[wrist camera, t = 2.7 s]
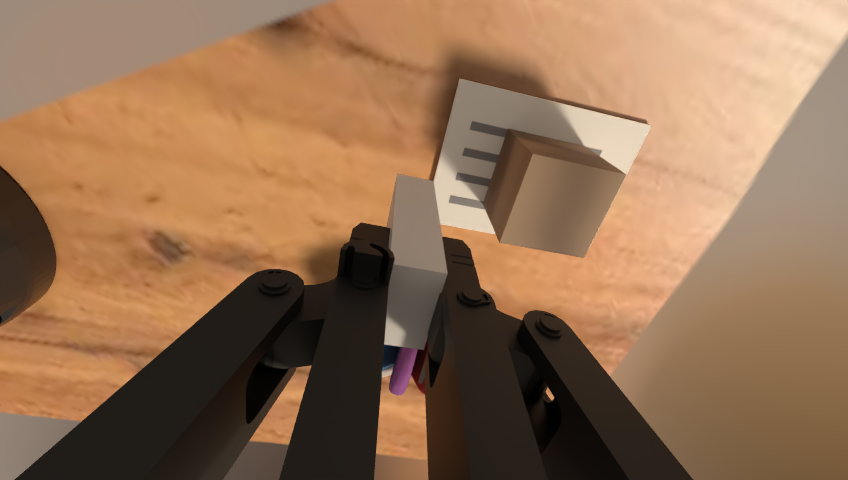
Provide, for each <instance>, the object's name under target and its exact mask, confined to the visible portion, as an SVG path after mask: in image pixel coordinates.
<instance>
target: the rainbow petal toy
mask: <svg viewBox="0 0 848 480" xmlns="http://www.w3.org/2000/svg"><path fill="white" fill-rule="evenodd" d="M427 352H428V338H427V341H426V344H425V347H424V350H420V349H413V348H406V347H399V346H392V345H385V344H384V354H383V366H382V377H386V376H389V375H391V374H392V375H391V379H390V384H389V389H390V392H391V393H393V394H395V395H402V394H403V393H404V392H405V390H406V388H407V385H408V382H409V379H410V376H411V377H412V378H413V379H414V381H415V383H416V385H417V386H418V388H419V390H420V391H421V392H422V393H423V394H425V377H424V379H423V382H422V384H421V383H418V382H419V377H420V374H421V371H422V368H423V365H424V361H425V358H426V355H427Z"/></svg>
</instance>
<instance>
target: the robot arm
mask: <svg viewBox="0 0 848 480" xmlns="http://www.w3.org/2000/svg"><path fill="white" fill-rule="evenodd" d="M55 272H56V253H55V248H54V243H53V240H52V237H51V235H50V232H49V230H48V228H47V226H46V224H45V222H44V220H43V218H42V217H41V215H40V213H39V212H38V210H37V209H36V207H35V206H34V205H33V203H32V202H31V201H30V199H29V198H28V197H27V196H26V194H25V193H24V192H23V191H22V190H21V189H20V187H19V186H18V185H17V184H16V183H15V182H14V181H13V180H12V179H11V178H10V177H9V176H8V175H7V174H6V173H4V172H3V171H2V170H1V169H0V326H2V325H4V324H6V323H8V322H9V321H11V320H13V319H14V318H15V317H17V316H18V315H19V314H21V313H22V312H23V311H25V310H26V309H27V308H29V307H30V306H31V305H33V304H34V303H35V302H37V301H38V300H39V299H40V298H41V297H42V296H44V294H45V293H46V292H47V291H48V289H49V288H50V286H51V284H52V282H53V279H54V276H55ZM427 338H428V352H427V355H426V358H425V361H424V365H423V368H422V371H421V374H420V377H419V382H418V383H421V384H422V382H423V379H424V377H425V399H426V425H427V452H428V478H429V480H693V479H692V478H691V477H690V475H689V474H688V473H687V472H686V470H685V469H684V468H683V467H682V465H681V464H680V463H679V462H678V460H677V459H676V458H675V457H674V456H673V454H672V453H671V452H670V451H669V449H668V448H667V447H666V446H665V444H664V443H663V442H662V441H661V439H660V438H659V437H658V436H657V434H656V433H655V432H654V431H653V429H652V428H651V427H650V426H649V425H648V424H647V422H646V421H645V420H644V418H643V417H642V416H641V415H640V413H639V412H638V411H637V410H636V408H635V407H634V406H633V405H632V403H631V402H630V401H629V400H628V398H627V397H626V396H625V395H624V394H623V392H622V391H621V390H620V389H619V387H618V386H617V385H616V384H615V382H614V381H613V380H612V379H611V377H610V376H609V375H608V374H607V372H606V371H605V370H604V369H603V368H602V366H601V365H600V364H599V363H598V361H597V360H596V359H595V358H594V356H593V355H592V354H591V353H590V351H589V350H588V349H587V348H586V346H585V345H584V344H583V343H582V342H581V340H580V339H579V338H578V337H577V335H576V334H575V333H574V332H573V330H572V329H571V328H570V327H569V326H568V325H567V324H566V323H565V322H564V321H563V320H561V319H560V318H558V317H557V316H555V315H553V314H551V313H548V312H545V311H538V310H534V311H529V312H528V313H527V314H525V315H524V318H523V320H520V319H517V318H514V317H512V316H509V315H507V314H504V313H502V312H500V311H498V310H497V309H496V306H495V302H494V300H493V299H492V297H491V296H490V295H489V294H488V293H487V292H486V291H485V290H483V289H481V288H480V284H479V280H478V276H477V273H476V269H475V267H474V261H473V259H472V254H471V250H470V248H469V247H468V246H467V245H466V244H465V243H464V242H463V240H458V239H452V238H447V237H442V233H441V226H440V220H439V213H438V206H437V200H436V193H435V187H434V181H431V180H426V179H421V178H416V177H411V176H406V175H401V174H397V178H396V183H395V187H394V192H393V197H392V202H391V207H390V212H389V217H388V222H387V227H382V226H377V225H371V224H366V223H360V224H359V225H357V226H356V227H355V228H353V230H352V234H351V238H350V241H349V242H348V243H346V244H344V246H343V247H342V248H341V252H340V260H339V267H338V274H337V277H336V278H335V279H333V280H331V281H330V282H326V283H323V284H316V285H304V282H303V280H302V279H301V278H300V277H299V276H298V275H297V274H294V273H292V272H290V271H286V270H281V269H267V270H263V271H260V272H256V273H255V274H253V275H251V276H250V277H248V278H247V279H246V280H245V281H243V282H242V283H241V284H240V285H239V286H238V287H237V288H235V289H234V290H233V291H232V292H231V293H230V294H228V295H227V296H226V297H225V298H224V299H223V300H222V301H220V302H219V303H218V304H217V305H216V306H215V307H213V308H212V309H211V310H210V311H209V312H208V313H207V314H205V315H204V316H203V317H202V318H201V319H200V320H198V321H197V322H196V323H195V324H194V325H193V326H192V327H190V328H189V329H188V330H187V331H186V332H185V333H183V334H182V335H181V336H180V337H179V338H178V339H177V340H175V341H174V342H173V343H172V344H171V345H170V346H168V347H167V348H166V349H165V350H164V351H163V352H161V353H160V354H159V355H158V356H157V357H156V358H155V359H153V360H152V361H151V362H150V363H149V364H148V365H146V366H145V367H144V368H143V369H142V370H141V371H140V372H138V373H137V374H136V375H135V376H134V377H133V378H131V379H130V380H129V381H128V382H127V383H126V384H125V385H123V386H122V387H121V388H120V389H119V390H118V391H116V392H115V393H114V394H113V395H112V396H111V397H110V398H108V399H107V400H106V401H105V402H104V403H103V404H101V405H100V406H99V407H98V408H97V409H96V410H95V411H93V412H92V413H91V414H90V415H89V416H88V417H86V418H85V419H84V420H83V421H82V422H81V423H80V424H78V425H77V426H76V427H75V428H74V429H73V430H72V431H70V432H69V433H68V434H67V435H66V436H65V437H63V438H62V439H61V440H60V441H59V442H58V443H56V444H55V445H54V446H53V447H52V448H51V449H50V450H48V452H46V453H45V454H44V455H43V456H42V457H40V458H39V459H38V460H37V461H36V462H35V463H33V464H32V465H31V466H30V467H29V468H28V469H27V470H25V471H24V472H23V473H22V474H21V475H20V476H18V477H17V478H16V479H15V480H223V479H224V477H225V476H226V474H227V473H228V472H229V470H230V468H231V467H232V466H233V464H234V463H235V461H236V460H237V458H238V457H239V455H240V453H241V452H242V450H243V449H244V447H245V446H246V445H247V443H248V442H249V440H250V439H251V437H252V436H253V434H254V433H255V431H256V430H257V428H258V427H259V425H260V424H261V422H262V421H263V419H264V418H265V416H266V415H267V413H268V412H269V410H270V409H271V407H272V406H273V404H274V403H275V401H276V400H277V398H278V397H279V395H280V394H281V392H282V391H283V389H284V388H285V386H286V385H287V383H288V382H289V380H290V379H291V377H292V376H293V374H294V373H295V370H296V367H302V366H310V365H312V366H311V370H310V373H309V377H308V380H307V384H306V387H305V391H304V394H303V398H302V401H301V405H300V408H299V412H298V415H297V419H296V422H295V426H294V429H293V433H292V436H291V440H290V443H289V447H288V450H287V454H286V458H285V461H284V465H283V468H282V472H281V475H280V479H279V480H374V470H375V456H376V444H377V431H378V418H379V405H380V392H381V379H382V366H383V354H384V344H385V345H392V346H399V347H406V348H413V349H420V350H424V347H425V344H426V341H427ZM547 388H549V389H550V391H551V392H552V394H553V396H554V397H555V398H554V400H553V401H552V400H551V399H550V398H549V397H548V395H547V394H546V392H545V391H546V390H547Z"/></svg>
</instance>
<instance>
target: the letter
mask: <svg viewBox="0 0 848 480" xmlns="http://www.w3.org/2000/svg"><path fill="white" fill-rule="evenodd" d="M650 128H651V125H649V124H644V123H640V122H636V121H632V120H628V119H624V118H620V117H616V116H612V115H608V114H604V113H600V112H596V111H591V110H587V109H583V108H579V107H575V106H571V105H567V104H563V103H559V102H555V101H551V100H547V99H543V98H538V97H534V96H530V95H526V94H522V93H518V92H514V91H510V90H506V89H502V88H498V87H494V86H490V85H485V84H481V83H477V82H473V81H469V80H465V79H461V78H459V81H458V85H457V89H456V93H455V97H454V101H453V105H452V109H451V113H450V117H449V121H448V125H447V129H446V133H445V137H444V141H443V144H442V148H441V152H440V156H439V160H438V164H437V168H436V172H435V176H434V180H433V181H434V187H435V193H436V200H437V206H438V213H439V220H440V224H442V225H448V226H453V227H459V228H464V229H470V230H475V231H481V232H486V233H491V234H496V233H495V231H494V229H493V226H492V224H491V222H490V220H489V217H488V215H487V213H486V210H485V208H484V206H483V202H484V199H485V196H486V193H487V190H488V187H489V184H490V181H491V178H492V175H493V172H494V169H495V166H496V163H497V160H498V157H499V154H500V151H501V148H502V145H503V142H504V139H505V136H506V133H507V129H513V130H517V131H521V132H526V133H530V134H534V135H539V136H543V137H548V138H552V139H556V140H561V141H565V142H569V143H574V144H578V145H582V146H585V147H587V148H588V149H590V150H591V151H593V152H594V153H596V154H597V155H599V156H600V157H602V158H603V159H605V160H606V161H607V162H609V163H610V164H612V165H613V166H615V167H616V168H618V169H619V170H621V171H622V172H624V173H625V174H626V175H627V173H628V171H629V169H630V167H631V165H632V163H633V161H634V159H635V157H636V155H637V153H638V151H639V149H640V148H641V146H642V144H643V142H644V140H645V138H646V136H647V134H648V132H649V130H650ZM625 177H626V176H625ZM624 179H625V178H624ZM623 181H624V180H623ZM622 183H623V182H622ZM621 185H622V184H621ZM620 187H621V186H620ZM619 189H620V188H619ZM604 218H605V217H604ZM603 220H604V219H603ZM602 222H603V221H602ZM601 224H602V223H601ZM600 226H601V225H600ZM599 228H600V227H599ZM598 230H599V229H598ZM597 232H598V231H597Z"/></svg>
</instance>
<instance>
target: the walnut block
mask: <svg viewBox="0 0 848 480" xmlns="http://www.w3.org/2000/svg"><path fill="white" fill-rule="evenodd" d="M625 176H626V174H625V173H624V172H622V171H621V170H619V169H618V168H616V167H615V166H613V165H612V164H610V163H609V162H607V161H606V160H605V159H603V158H602V157H600V156H599V155H597V154H596V153H594V152H593V151H591V150H590V149H588V148H587V147H585V146H582V145H578V144H574V143H569V142H565V141H561V140H556V139H552V138H548V137H543V136H539V135H534V134H530V133H526V132H521V131H517V130H513V129H507V133H506V136H505V139H504V142H503V145H502V148H501V151H500V154H499V157H498V160H497V163H496V166H495V169H494V172H493V175H492V178H491V181H490V184H489V187H488V190H487V193H486V196H485V199H484V202H483V206H484V208H485V210H486V213H487V215H488V217H489V220H490V222H491V224H492V226H493V229H494V231H495V233H496V236H497V238H498V240H499V242H500V243H504V244H510V245H515V246H521V247H526V248H532V249H538V250H543V251H549V252H554V253H560V254H565V255H571V256H576V257H582V258H584V257H585V255H586V253H587V251H588V249H589V247H590V245H591V243H592V241H593V239H594V237H595V235H596V233H597V231H598V229H599V227H600V225H601V223H602V221H603V219H604V217H605V216H606V214H607V212H608V210H609V208H610V206H611V204H612V202H613V200H614V198H615V196H616V194H617V192H618V190H619V188H620V186H621V184H622V182H623V180H624V178H625Z"/></svg>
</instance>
